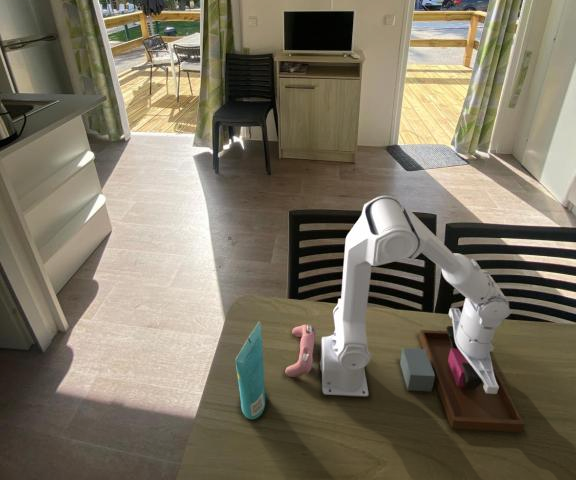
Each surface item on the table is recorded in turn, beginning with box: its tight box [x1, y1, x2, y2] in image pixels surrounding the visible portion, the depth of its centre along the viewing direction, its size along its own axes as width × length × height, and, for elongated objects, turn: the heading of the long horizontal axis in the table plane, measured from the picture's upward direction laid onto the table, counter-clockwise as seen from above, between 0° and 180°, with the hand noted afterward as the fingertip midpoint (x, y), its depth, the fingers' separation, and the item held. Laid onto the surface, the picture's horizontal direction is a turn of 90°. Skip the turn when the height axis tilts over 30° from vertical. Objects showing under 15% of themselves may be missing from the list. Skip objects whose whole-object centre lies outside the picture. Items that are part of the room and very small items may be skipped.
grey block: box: [399, 347, 435, 392], centre depth 64 cm, size 5×5×5 cm
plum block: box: [448, 348, 480, 388], centre depth 63 cm, size 4×4×4 cm
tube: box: [234, 320, 266, 420], centre depth 57 cm, size 7×5×19 cm, turn 156°
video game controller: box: [284, 323, 317, 378], centre depth 68 cm, size 10×5×7 cm, turn 168°
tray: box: [419, 329, 525, 433], centre depth 64 cm, size 13×16×3 cm
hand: (463, 372), depth 64 cm, fingers closed on plum block, 4 cm apart
